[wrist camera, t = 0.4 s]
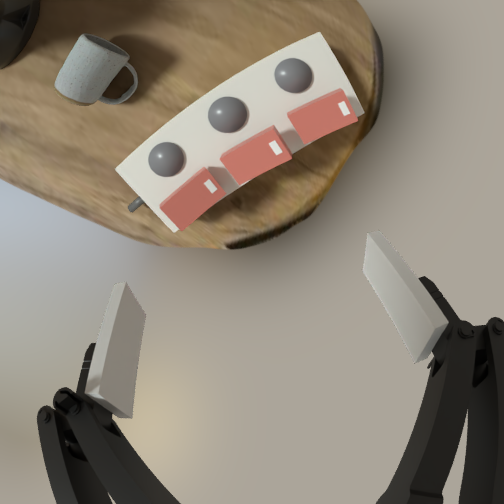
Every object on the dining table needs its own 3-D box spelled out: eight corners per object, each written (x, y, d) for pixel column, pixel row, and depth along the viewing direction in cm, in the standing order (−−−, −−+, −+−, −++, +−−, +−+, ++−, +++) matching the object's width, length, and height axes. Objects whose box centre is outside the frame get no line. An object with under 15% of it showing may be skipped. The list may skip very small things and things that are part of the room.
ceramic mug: (67, 83, 25) (39, 88, 19) (98, 35, 22) (74, 29, 16) (119, 116, 30) (98, 126, 24) (154, 67, 27) (139, 65, 21)
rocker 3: (287, 112, 28) (287, 116, 27) (340, 87, 25) (343, 90, 24) (303, 140, 30) (304, 144, 29) (355, 117, 27) (358, 120, 26)
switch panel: (108, 175, 35) (93, 191, 30) (306, 37, 27) (322, 30, 22) (159, 229, 41) (152, 251, 36) (348, 108, 33) (368, 114, 28)
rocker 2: (222, 153, 30) (219, 159, 29) (273, 124, 27) (273, 129, 26) (241, 178, 32) (239, 185, 31) (291, 153, 29) (292, 158, 28)
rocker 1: (159, 204, 31) (159, 208, 30) (204, 166, 31) (206, 168, 30) (180, 226, 33) (181, 231, 32) (223, 190, 33) (226, 193, 32)
